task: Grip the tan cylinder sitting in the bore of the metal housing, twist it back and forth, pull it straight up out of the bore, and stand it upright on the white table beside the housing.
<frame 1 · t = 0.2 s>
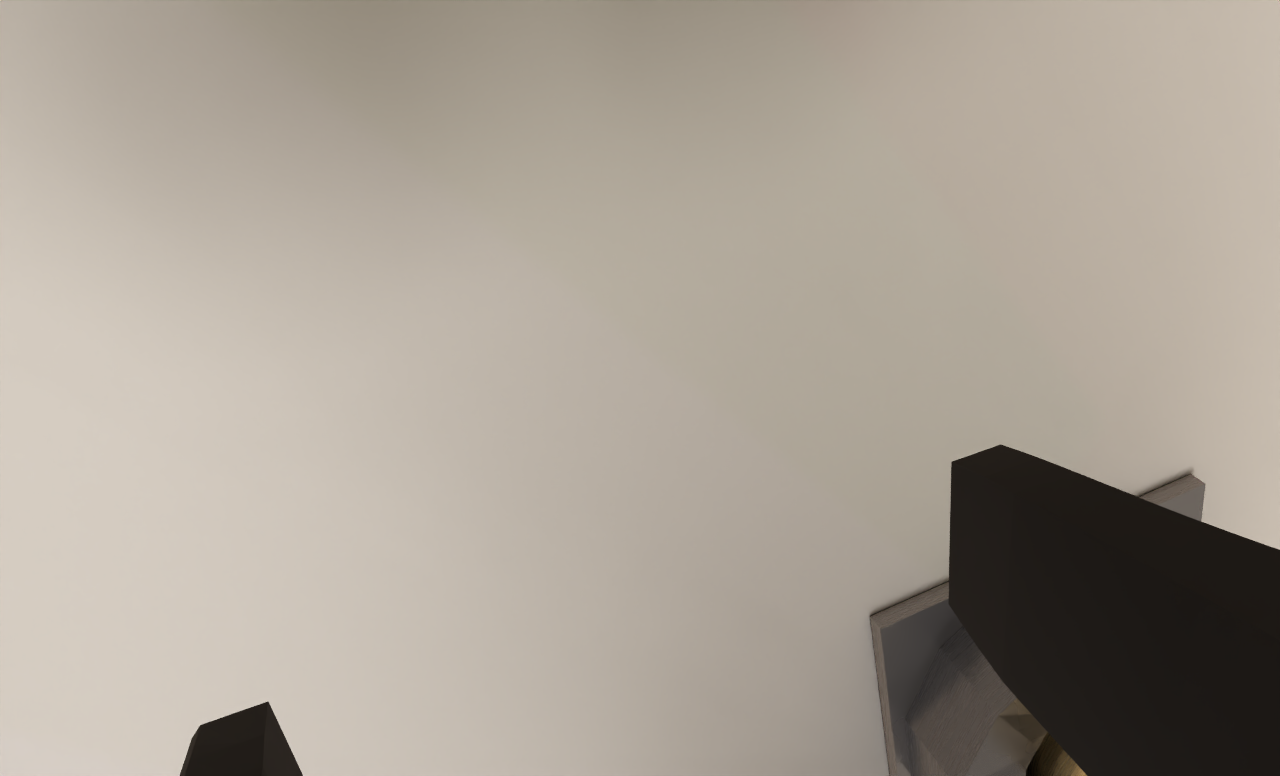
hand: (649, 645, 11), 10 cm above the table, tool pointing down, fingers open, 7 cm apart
tan cylinder: (1047, 681, 30), resting on housing
housing: (1036, 669, 31), on the table
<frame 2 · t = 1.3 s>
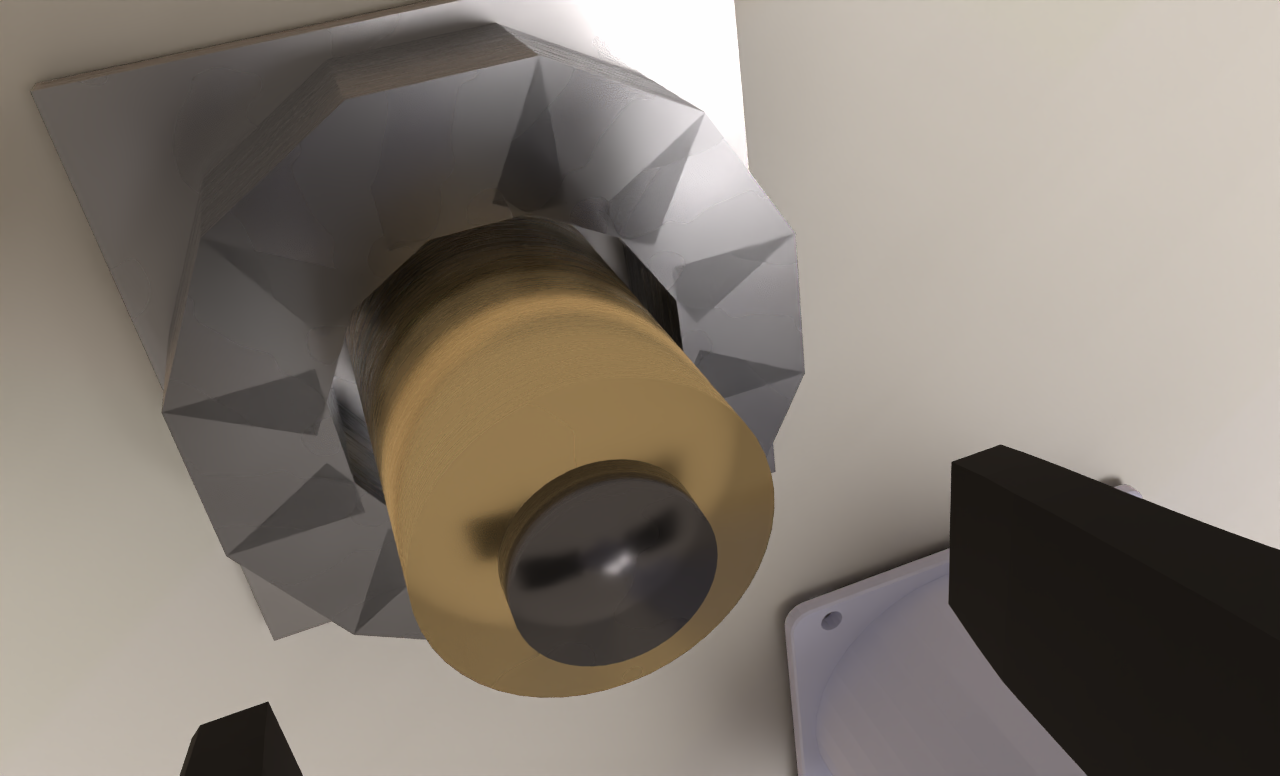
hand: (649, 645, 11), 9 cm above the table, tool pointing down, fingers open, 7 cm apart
tan cylinder: (481, 321, 17), resting on housing
housing: (475, 310, 18), on the table
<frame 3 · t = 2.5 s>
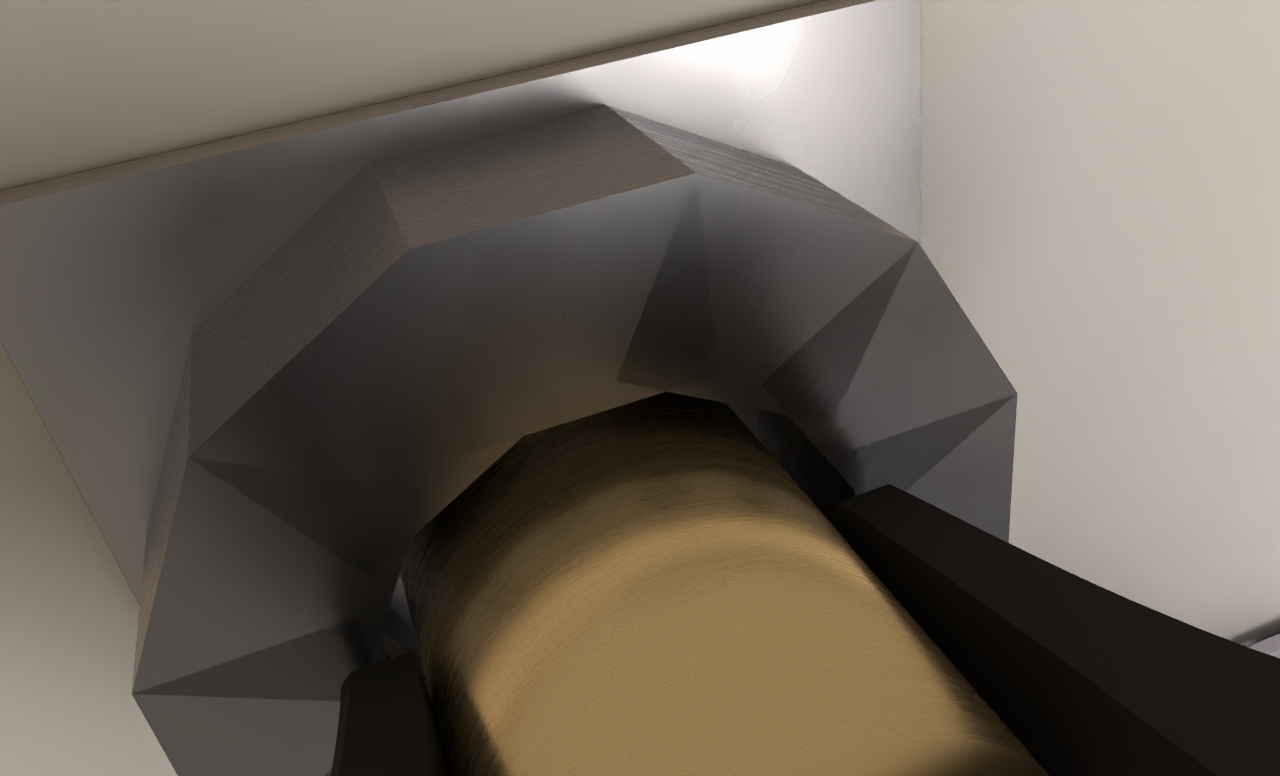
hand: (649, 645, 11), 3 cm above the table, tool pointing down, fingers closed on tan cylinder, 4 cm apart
tan cylinder: (568, 491, 13), resting on housing, touching gripper
housing: (557, 470, 13), on the table
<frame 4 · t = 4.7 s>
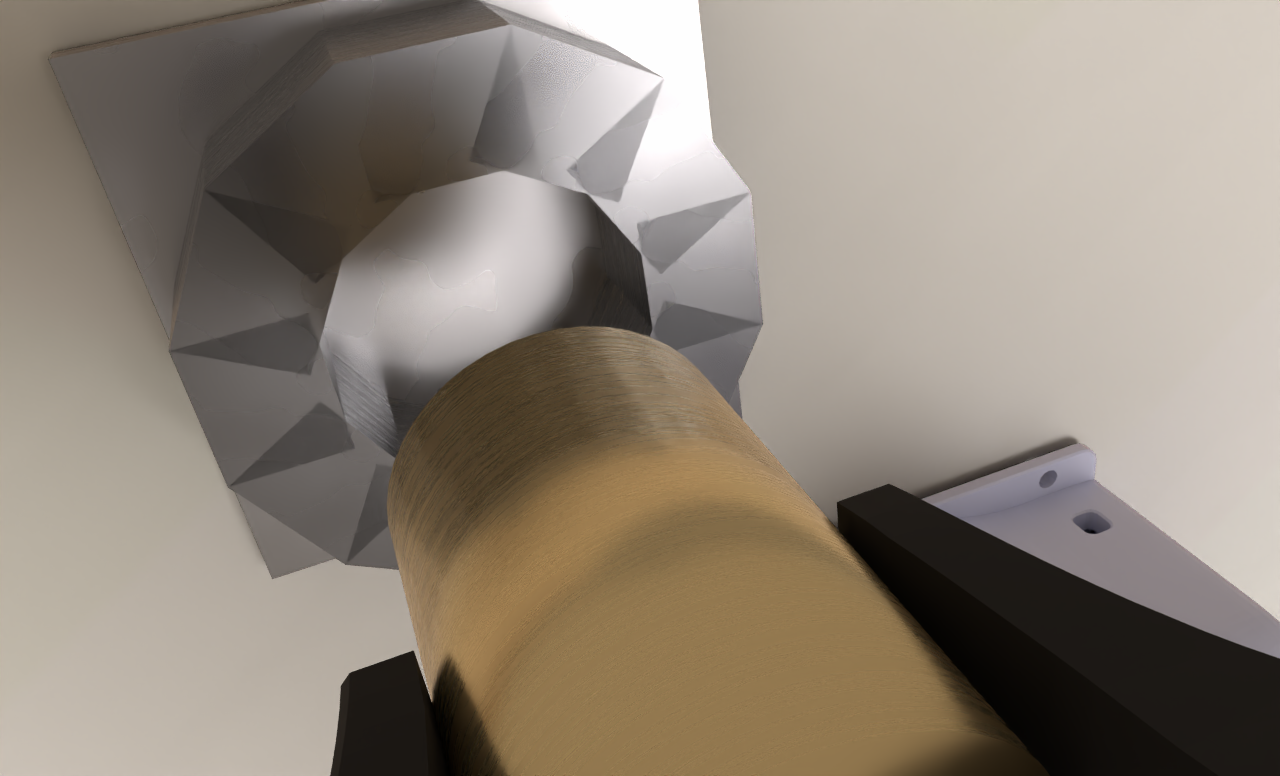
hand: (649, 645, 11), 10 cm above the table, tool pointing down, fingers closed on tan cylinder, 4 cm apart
tan cylinder: (567, 487, 13), point 7 cm above the table, touching gripper
housing: (458, 268, 19), on the table
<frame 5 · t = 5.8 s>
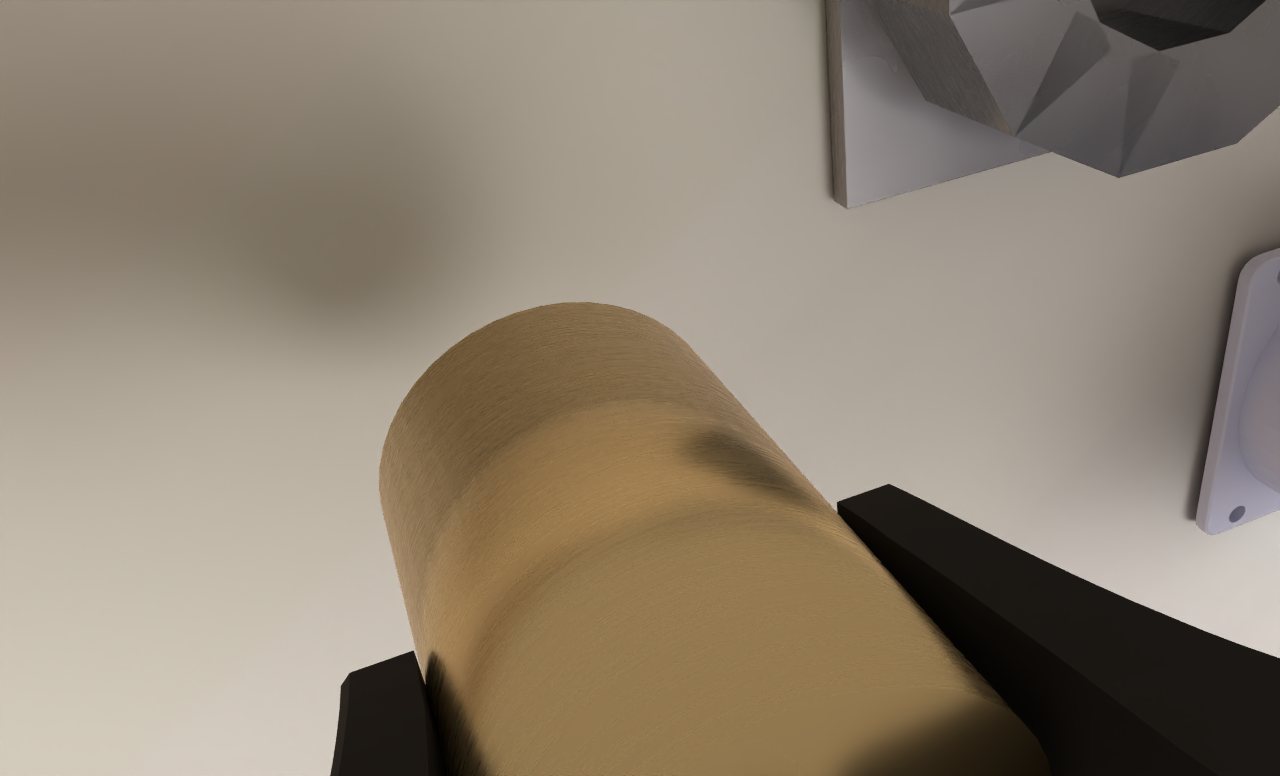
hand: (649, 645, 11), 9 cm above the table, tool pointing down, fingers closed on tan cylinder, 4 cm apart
tan cylinder: (559, 465, 13), point 6 cm above the table, touching gripper
when the fingers open (4 cm above the table, at t = 7.0 s): tan cylinder drops 1 cm, on the table.
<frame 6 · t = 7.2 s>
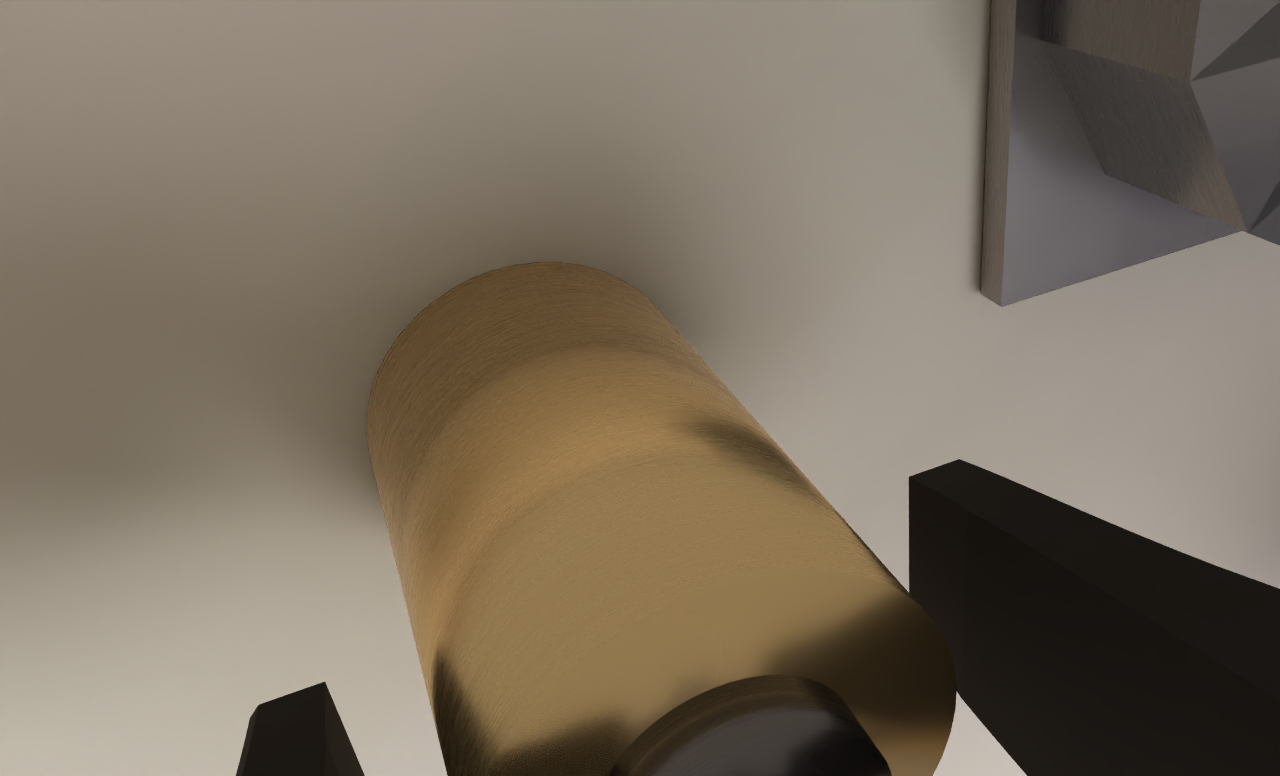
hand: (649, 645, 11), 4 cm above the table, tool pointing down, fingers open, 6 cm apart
tan cylinder: (533, 415, 14), on the table
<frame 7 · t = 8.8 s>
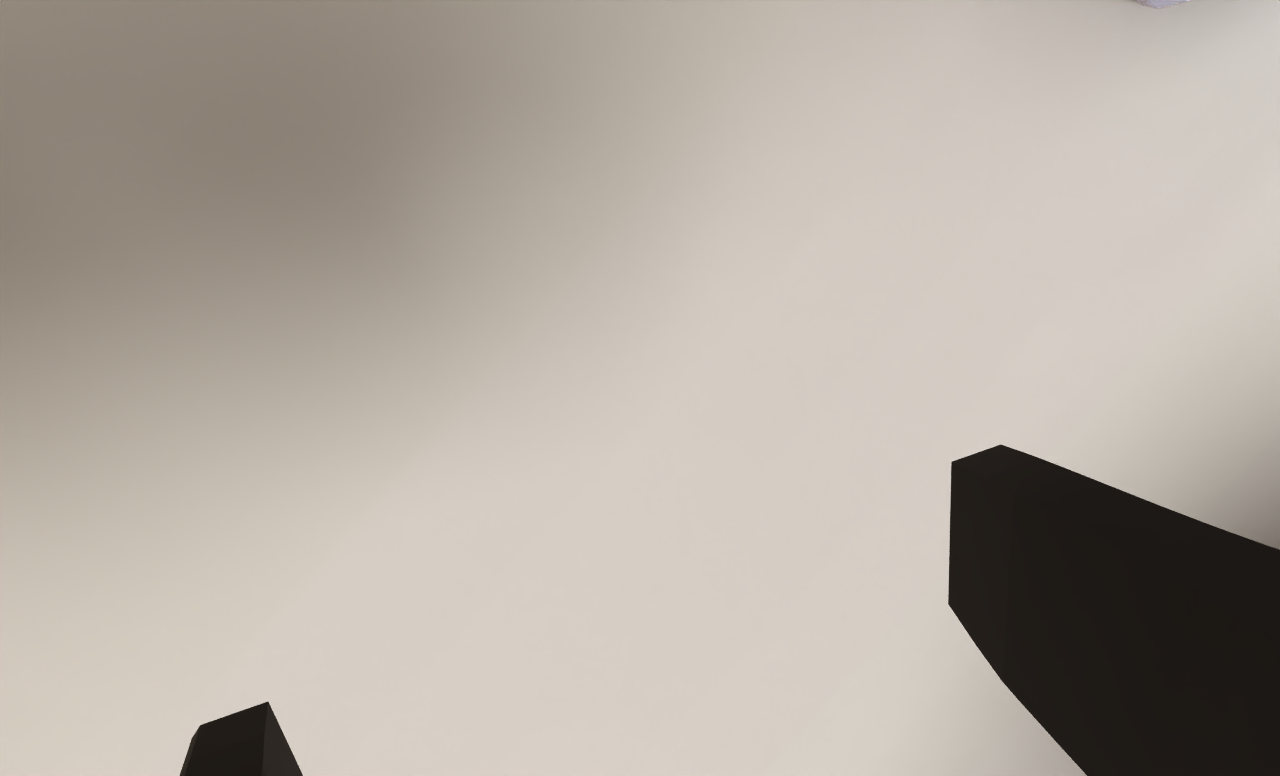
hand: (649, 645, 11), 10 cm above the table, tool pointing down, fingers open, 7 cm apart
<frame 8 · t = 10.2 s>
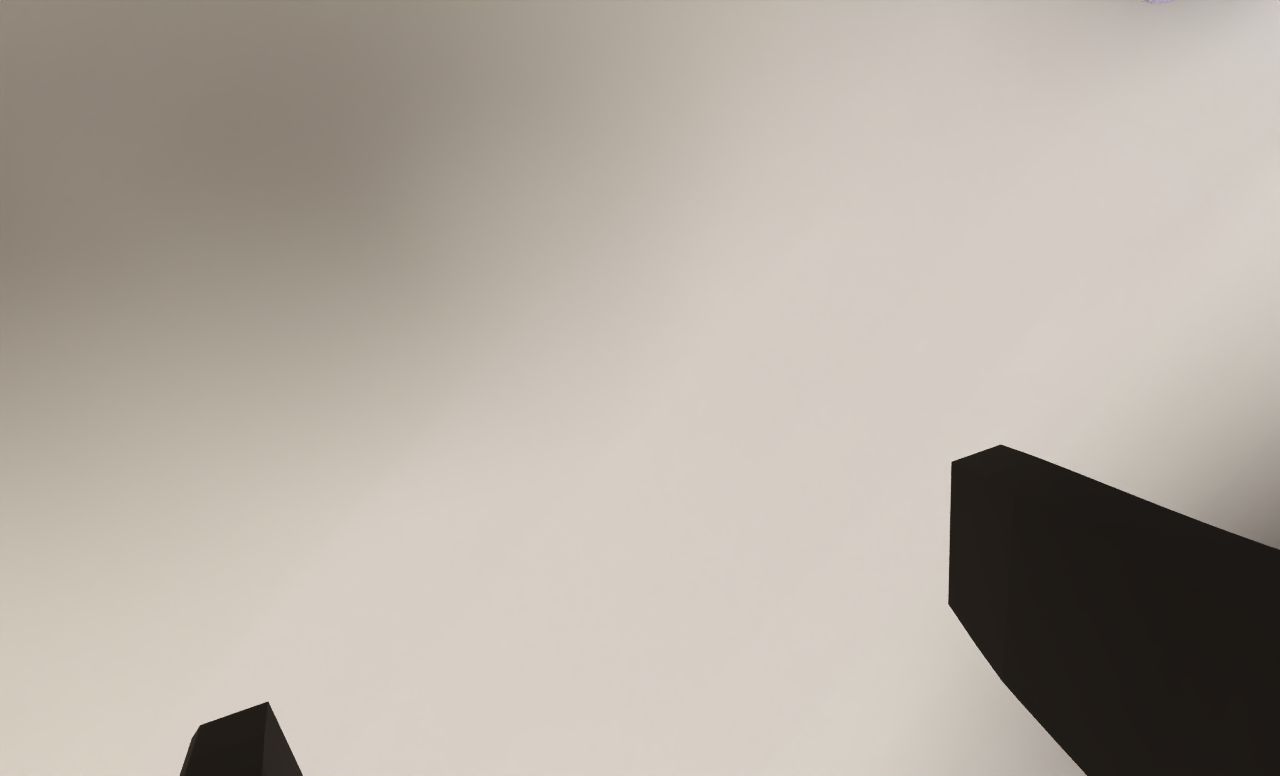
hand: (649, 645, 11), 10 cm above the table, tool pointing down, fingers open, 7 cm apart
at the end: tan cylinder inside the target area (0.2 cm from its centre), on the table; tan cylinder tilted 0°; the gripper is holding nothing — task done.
